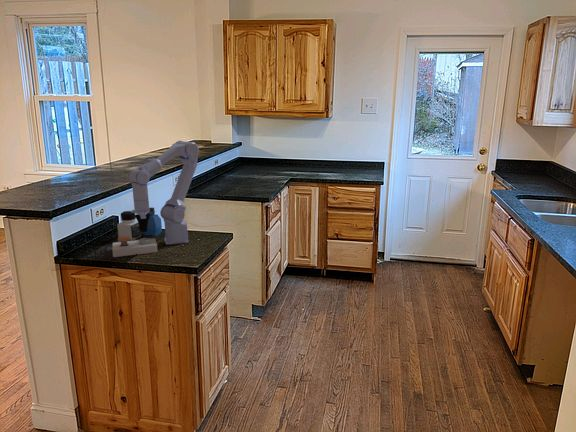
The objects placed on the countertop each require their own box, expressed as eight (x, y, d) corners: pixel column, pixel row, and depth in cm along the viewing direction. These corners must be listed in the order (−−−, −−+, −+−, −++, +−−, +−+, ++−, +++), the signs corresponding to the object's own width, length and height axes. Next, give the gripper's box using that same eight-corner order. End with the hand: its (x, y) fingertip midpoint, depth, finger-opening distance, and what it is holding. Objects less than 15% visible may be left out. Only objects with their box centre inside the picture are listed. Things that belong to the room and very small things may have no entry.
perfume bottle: (155, 235, 208) (153, 210, 205) (143, 235, 210) (141, 209, 206) (162, 232, 214) (160, 207, 211) (149, 231, 215) (147, 206, 212)
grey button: (150, 246, 192) (149, 237, 191) (151, 249, 188) (150, 240, 187) (139, 247, 191) (138, 238, 190) (139, 250, 186) (139, 241, 186)
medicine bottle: (132, 240, 202) (129, 214, 198) (118, 239, 203) (115, 213, 200) (141, 235, 208) (139, 210, 205) (128, 234, 210) (125, 209, 207)
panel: (155, 245, 195) (155, 238, 194) (157, 252, 187) (157, 245, 186) (113, 249, 190) (112, 242, 189) (113, 257, 181) (112, 249, 180)
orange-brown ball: (130, 244, 189) (129, 235, 188) (130, 247, 185) (129, 238, 184) (118, 245, 187) (117, 236, 187) (118, 248, 183) (117, 239, 182)
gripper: (130, 196, 189) (133, 227, 193) (131, 203, 176) (134, 237, 180) (147, 194, 192) (150, 226, 195) (150, 202, 178) (153, 235, 182)
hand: (144, 231), depth 187 cm, fingers closed
